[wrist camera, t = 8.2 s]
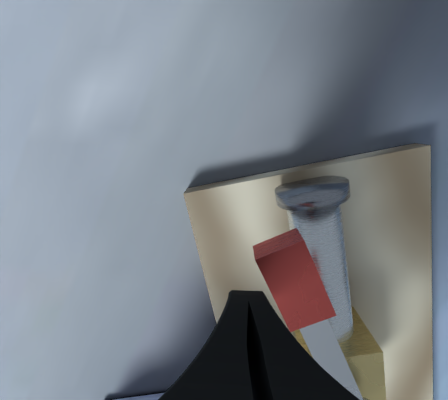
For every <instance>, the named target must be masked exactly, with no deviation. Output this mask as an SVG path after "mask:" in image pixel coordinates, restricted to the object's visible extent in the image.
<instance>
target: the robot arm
mask: <svg viewBox="0 0 448 400" xmlns="http://www.w3.org/2000/svg"><path fill="white" fill-rule="evenodd" d="M114 400H360V399H358V398H357V397H356V396H354V395H353V394H352V393H351V392H350V391H348V390H347V389H346V388H345V387H344V386H342V385H341V384H340V383H339V382H338V381H337V380H335V379H334V378H333V377H332V376H331V375H330V374H329V373H327V372H326V371H325V370H324V369H323V368H322V367H321V366H320V365H319V364H318V363H317V362H316V361H315V360H314V359H313V358H312V357H311V356H310V355H309V353H308V352H307V351H306V350H305V349H304V348H303V347H302V346H301V345H300V343H299V342H298V341H297V340H296V339H295V337H294V336H293V335H292V334H291V332H290V331H289V330H288V328H287V327H286V326H285V324H284V323H283V322H282V320H281V319H280V318H279V316H278V315H277V313H276V312H275V310H274V309H273V307H272V305H271V304H270V302H269V301H268V299H267V297H266V295H265V294H264V292H263V291H245V290H231V291H230V292H229V294H228V299H227V302H226V305H225V307H224V310H223V312H222V314H221V316H220V318H219V320H218V323H217V324H216V326H215V328H214V330H213V331H212V333H211V335H210V337H209V338H208V340H207V342H206V343H205V345H204V346H203V348H202V349H201V351H200V352H199V353H198V355H197V356H196V357H195V359H194V360H193V361H192V363H191V364H190V365H189V366H188V368H187V369H186V370H185V371H184V373H183V374H182V375H181V376H180V377H179V378H178V379H177V381H176V382H175V383H174V384H173V385H172V386H171V387H170V388H169V389H168V390H167V391H166V392H165V393H159V394H151V395H144V396H137V397H129V398H122V399H114Z"/></svg>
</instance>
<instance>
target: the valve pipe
mask: <svg viewBox="0 0 448 400" xmlns="http://www.w3.org/2000/svg"><path fill="white" fill-rule="evenodd" d="M275 196H276V202H277V206H278V207H280V208H282V209H285V210H287V216H288V223H289V229H290V230H292V229H295V228H297V229H298V231H299V233H300V234H301V236H302V237H303V239H304V241H305V243H306V246H307V248H308V250H309V253H310V255H311V257H312V260H313V262H314V264H315V267H316V269H317V271H318V274H319V276H320V278H321V281H322V283H323V285H324V287H325V290H326V292H327V294H328V297H329V299H330V301H331V304H332V306H333V308H334V311H335V313H336V315H337V316H334V317H331V318H329V319H328V320H329V323H330V325H331V327H332V329H333V332H334V334H335V336H336V339H337V341H338V343H339V345H340V348H341V350H342V352H343V354H344V357H345V359H346V361H347V363H348V366H349V368H350V370H351V373H352V375H353V377H354V379H355V382H356V384H357V386H358V388H359V391H360V393H361V395H362V397H363V398H367V399H369V400H386V387H385V372H384V357H383V351H382V350H381V348H380V347H379V345H378V344H377V342H376V341H375V339H374V337H373V336H372V334H371V333H370V331H369V330H368V328H367V327H366V325H365V324H364V322H363V321H362V319H361V318H360V316H359V315H358V313H357V312H356V310H355V309H354V307H353V306H351V298H350V287H349V277H348V267H347V257H346V247H345V237H344V227H343V217H342V206H341V204H342V203H344V202H346V201H347V200H349V198H350V196H351V195H350V184H349V180H348V179H347V178H345V177H340V176H321V177H316V178H311V179H305V180H300V181H295V182H290V183H285V184H281V185H279V186H278V187H276V188H275ZM293 336H294V337H295V339H296V340H297V341H298V342H299V343H300V345H301V346H302V347H303V348H304V349H305V350H306V351H307V352H308V353H309V355H310V356H311V357H312V355H311V353H310V351H309V348H308V346H307V344H306V342H305V340H304V338H303V336H302V334H301V332H300V330H299V329H298V330H295V331H293ZM312 358H313V357H312Z"/></svg>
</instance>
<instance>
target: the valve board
mask: <svg viewBox="0 0 448 400" xmlns="http://www.w3.org/2000/svg"><path fill="white" fill-rule="evenodd" d="M321 176H340V177H345V178H347V179H348V180H349V184H350V195H351V196H350V198H349V200H347V201H346V202H344V203H342V204H341V206H342V217H343V227H344V237H345V247H346V257H347V267H348V277H349V287H350V298H351V306H353V307H354V309H355V310H356V312H357V313H358V315H359V316H360V318H361V319H362V321H363V322H364V324H365V325H366V327H367V328H368V330H369V331H370V333H371V334H372V336H373V337H374V339H375V341H376V342H377V344H378V345H379V347H380V348H381V350H382V351H383V357H384V372H385V387H386V400H433V353H432V241H431V145H425V144H416V143H414V144H408V145H403V146H398V147H393V148H388V149H383V150H378V151H373V152H368V153H363V154H358V155H353V156H348V157H343V158H338V159H333V160H328V161H323V162H318V163H312V164H307V165H302V166H297V167H292V168H287V169H282V170H277V171H272V172H267V173H262V174H257V175H252V176H247V177H242V178H237V179H232V180H227V181H222V182H216V183H211V184H206V185H201V186H196V187H191V188H187V189H186V191H185V192H184V198H185V202H186V206H187V210H188V214H189V218H190V221H191V225H192V229H193V233H194V237H195V241H196V245H197V249H198V253H199V257H200V261H201V265H202V269H203V273H204V277H205V280H206V284H207V288H208V292H209V296H210V300H211V304H212V308H213V312H214V316H215V320H216V324H217V323H218V320H219V318H220V316H221V314H222V312H223V310H224V307H225V305H226V302H227V299H228V294H229V292H230V291H231V290H245V291H263V292H264V294H265V295H266V297H267V299H268V301H269V302H270V304H271V305H272V307H273V309H274V310H275V312H276V313H277V315H278V316H279V318H280V319H281V320H282V322H283V323H284V324H285V326H286V327H287V325H286V323H285V320H284V318H283V316H282V314H281V312H280V310H279V308H278V306H277V304H276V302H275V300H274V298H273V296H272V294H271V292H270V290H269V288H268V286H267V284H266V282H265V280H264V278H263V275H262V273H261V271H260V269H259V267H258V265H257V263H256V261H255V257H254V251H253V246H254V245H256V244H258V243H261V242H263V241H266V240H268V239H271V238H273V237H275V236H278V235H280V234H283V233H285V232H287V231H290V229H289V223H288V216H287V210H285V209H282V208H280V207H278V206H277V202H276V196H275V188H276V187H278V186H279V185H281V184H285V183H290V182H295V181H300V180H305V179H311V178H316V177H321ZM287 328H288V327H287ZM288 330H289V329H288ZM291 334H292V335H293V331H292V332H291Z"/></svg>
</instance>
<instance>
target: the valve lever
mask: <svg viewBox="0 0 448 400" xmlns="http://www.w3.org/2000/svg"><path fill="white" fill-rule="evenodd" d="M253 251H254V257H255V261H256V263H257V265H258V267H259V269H260V271H261V273H262V275H263V278H264V280H265V282H266V284H267V286H268V288H269V290H270V292H271V294H272V296H273V298H274V300H275V302H276V304H277V306H278V308H279V310H280V312H281V314H282V316H283V318H284V320H285V323H286V325H287V327H288V329H289V331H290V332H292V331H295V330H298V329H299V330H300V332H301V334H302V336H303V338H304V340H305V342H306V344H307V346H308V348H309V351H310V353H311V355H312V357H313V359H314V360H315V361H316V362H317V363H318V364H319V365H320V366H321V367H322V368H323V369H324V370H325V371H326V372H327V373H329V374H330V375H331V376H332V377H333V378H334V379H335V380H337V381H338V382H339V383H340V384H341V385H342V386H344V387H345V388H346V389H347V390H348V391H350V392H351V393H352V394H353V395H354V396H356V397H357V398H358V399H360V400H369V399H367V398H363V397H362V395H361V393H360V391H359V388H358V386H357V384H356V382H355V379H354V377H353V375H352V373H351V370H350V368H349V366H348V363H347V361H346V359H345V357H344V354H343V352H342V350H341V348H340V345H339V343H338V341H337V339H336V336H335V334H334V332H333V329H332V327H331V325H330V323H329V320H328V319H329V318H331V317H334V316H337V315H336V313H335V311H334V308H333V306H332V304H331V301H330V299H329V297H328V294H327V292H326V290H325V287H324V285H323V283H322V281H321V278H320V276H319V274H318V271H317V269H316V267H315V264H314V262H313V260H312V257H311V255H310V253H309V250H308V248H307V246H306V243H305V241H304V239H303V237H302V236H301V234H300V233H299V231H298V229H297V228H295V229H292V230H290V231H287V232H285V233H283V234H280V235H278V236H275V237H273V238H271V239H268V240H266V241H263V242H261V243H258V244H256V245H254V246H253Z"/></svg>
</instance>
